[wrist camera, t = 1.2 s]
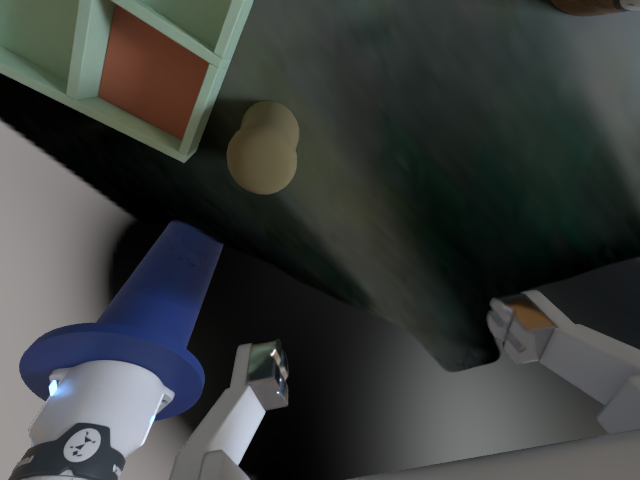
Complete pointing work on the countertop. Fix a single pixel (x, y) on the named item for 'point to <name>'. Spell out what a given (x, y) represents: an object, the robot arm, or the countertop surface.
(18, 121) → the countertop surface
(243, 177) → the cork
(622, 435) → the robot arm
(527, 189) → the countertop surface
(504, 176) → the countertop surface
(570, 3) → the wooden container
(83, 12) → the compartment tray
